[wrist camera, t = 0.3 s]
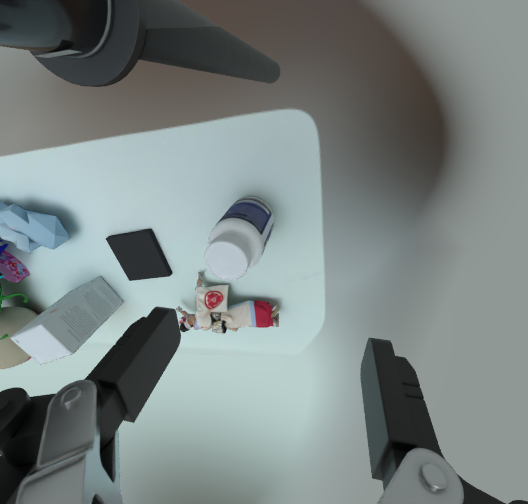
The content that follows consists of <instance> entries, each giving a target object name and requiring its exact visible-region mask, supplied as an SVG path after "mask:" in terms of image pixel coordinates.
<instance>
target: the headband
mask: <svg viewBox="0 0 528 504" xmlns="http://www.w3.org/2000/svg"><path fill="white" fill-rule="evenodd" d="M0 272H1V273H2V274H4V276H3V277H2V278H4V279H6V280H8V281H11V282H14V283H17V282H19V281H20V280H22V279H23V278H25V277H26V276H28V275H29V271H28V270H27V268H26V267H25V266H24V265H23V264H22V263H21V262H20V261H19V260H18V259H16V258H15V257H14V256H13V255H11V254H10V253H9V252H7V251H6V250H4V251H3V252H2V253H1V255H0Z"/></svg>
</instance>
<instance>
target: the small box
mask: <svg viewBox="0 0 528 504" xmlns="http://www.w3.org/2000/svg"><path fill="white" fill-rule="evenodd" d="M122 303H123V301H122V300H121V299H120V298H119V297H118V295H117V294H116V293H115V292H114V291H113V290H112V289H111V288H110V286H109V285H108V284H107V283H106V282H105V281H104V280H103V279H102V278H101V277H98V278H96V279H94V280H92V281H90V282H88V283H86V284H84V285H82V286H80V287H78V288H76V289H74V290H72V291H70V292H69V293H68V294H66V295H65V296H64V297H62V298H61V299H60V300H58V301H57V302H56V303H54V304H53V305H52V306H50V307H49V308H48V309H46V310H45V311H44V312H42V313H41V314H40V315H38V316H37V317H36V318H35V319H33V320H32V321H31V322H29V323H28V324H27V325H25V326H24V327H23V328H21V329H20V330H19V331H18V332H16V333H15V334H14V335H12V336H11V337H10V339H11V340H12V341H13V342H15V343H16V344H17V345H18V346H19V347H20V348H21V349H23V350H24V351H25V352H26V353H27V354H28V355H29V356H31V357H32V358H33V359H34V360H35V361H36V362H37V363H39V364H40V365H42V364H45V363H48V362H51V361H54V360H57V359H60V358H62V357H65V356H68V355H72V354H73V353H75V352H76V351H77V350H78V348H79V347H80V346H81V345H82V344H83V343H84V342H85V341H86V340H87V339H88V338H89V337H90V336H91V335H92V334H93V333H94V332H95V331H96V330H97V329H98V328H99V327H100V326H101V325H102V324H103V323H104V322H105V321H106V320H107V319H108V318H109V317H110V316H111V315H112V314H113V313H114V312H115V310H116V309H117V308H118V307H119V306H120V305H121V304H122Z"/></svg>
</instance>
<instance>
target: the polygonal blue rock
mask: <svg viewBox="0 0 528 504" xmlns="http://www.w3.org/2000/svg"><path fill="white" fill-rule="evenodd" d="M0 237H1V238H2V239H4V240H8V241H12V242H13V243H14V244H15V245H16V247H17V248H18V249H21V250H23V251H25V252H28V253H30V254H31V251H32V250H34V249H36V248H38V247H40V246H45V247H48V248H51V249H55V248H57V247H58V246H60V245H61V244H63V243H64V242H66V241H67V240H69V239H70V236H69V235H68V233H67V232H66V230H65V229H64V227H63V226H62V224H61V223H60V221H59V220H58V218H57V217H56V216H52V215H47V214H42V213H36V212H31V211H26V210H24V209H22V208H21V207H19V206H17V205H15V204H12V205H10V206H7V205H6V204H4V203H3V202H1V201H0Z"/></svg>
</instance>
